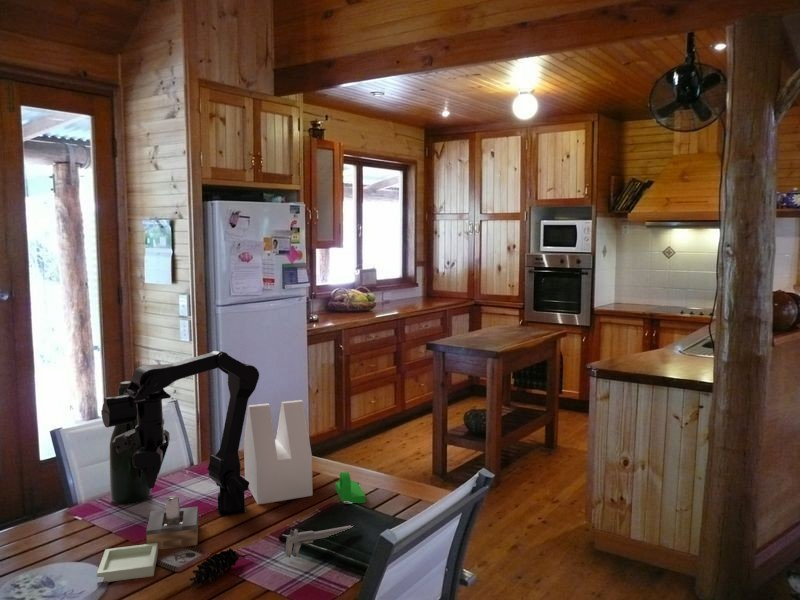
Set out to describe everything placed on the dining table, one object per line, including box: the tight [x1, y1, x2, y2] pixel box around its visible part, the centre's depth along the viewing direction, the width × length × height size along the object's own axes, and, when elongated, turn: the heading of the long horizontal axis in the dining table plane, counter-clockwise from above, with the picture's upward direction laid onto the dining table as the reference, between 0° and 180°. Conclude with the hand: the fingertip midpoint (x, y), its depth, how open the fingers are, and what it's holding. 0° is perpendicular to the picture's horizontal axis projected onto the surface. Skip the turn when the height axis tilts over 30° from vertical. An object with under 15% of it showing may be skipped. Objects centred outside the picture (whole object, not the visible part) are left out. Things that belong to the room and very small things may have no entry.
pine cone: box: [188, 547, 252, 589], centre depth 139 cm, size 18×5×5 cm
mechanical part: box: [334, 471, 366, 504], centre depth 181 cm, size 12×6×8 cm, turn 16°
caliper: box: [285, 524, 354, 559], centre depth 151 cm, size 20×1×6 cm, turn 134°
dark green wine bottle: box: [108, 380, 152, 506], centre depth 178 cm, size 10×10×33 cm
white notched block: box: [243, 399, 313, 505], centre depth 186 cm, size 19×15×25 cm
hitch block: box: [145, 505, 199, 551], centre depth 155 cm, size 11×11×5 cm
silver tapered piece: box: [163, 495, 182, 526], centre depth 155 cm, size 6×3×10 cm, turn 106°
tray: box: [96, 543, 159, 583], centre depth 141 cm, size 11×11×2 cm
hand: (153, 481), depth 157 cm, fingers open, 9 cm apart
